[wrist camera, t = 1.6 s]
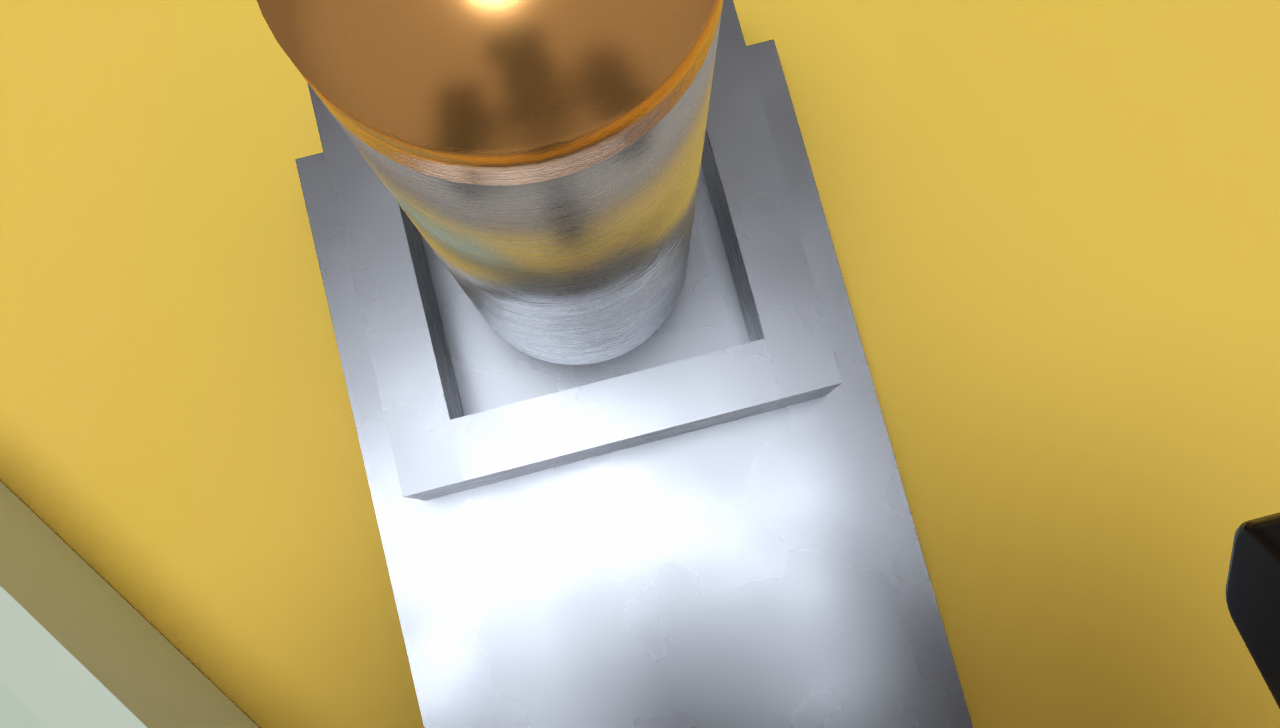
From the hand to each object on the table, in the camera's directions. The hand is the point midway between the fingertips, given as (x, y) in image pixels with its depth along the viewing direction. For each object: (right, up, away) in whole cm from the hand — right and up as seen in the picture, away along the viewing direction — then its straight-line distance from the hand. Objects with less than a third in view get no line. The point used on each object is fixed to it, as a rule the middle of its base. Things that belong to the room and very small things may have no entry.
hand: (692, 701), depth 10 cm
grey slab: (-1, +1, +13) cm, 13 cm away
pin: (-2, +5, +12) cm, 13 cm away
